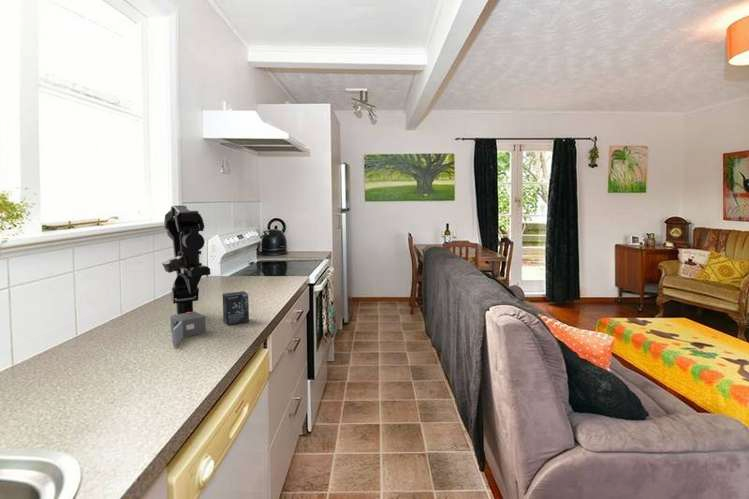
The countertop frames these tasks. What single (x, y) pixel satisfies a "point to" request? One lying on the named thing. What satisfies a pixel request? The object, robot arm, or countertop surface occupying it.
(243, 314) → the box
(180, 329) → the side door
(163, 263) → the robot arm
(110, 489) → the countertop surface
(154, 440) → the countertop surface
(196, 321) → the grey squat block
